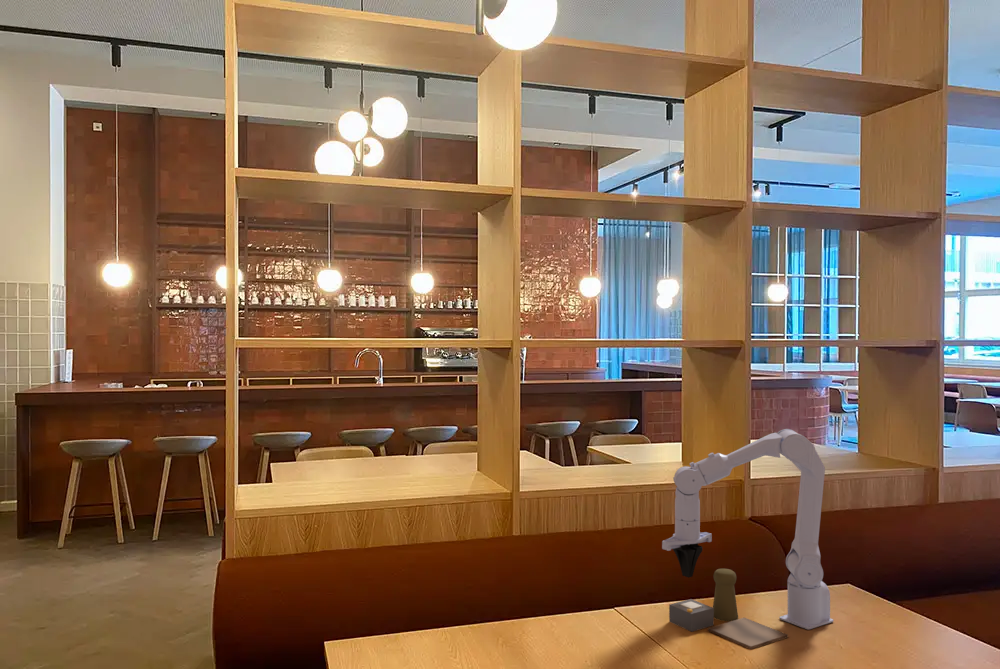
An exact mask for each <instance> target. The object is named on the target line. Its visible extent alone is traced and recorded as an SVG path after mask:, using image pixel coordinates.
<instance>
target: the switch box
mask: <svg viewBox="0 0 1000 669" xmlns="http://www.w3.org/2000/svg"><path fill="white" fill-rule="evenodd" d="M687 602H694V603H696V604H699V605H701V606H702V608H699V609H695V610H692V609H687V608H684V607H682V606H681V604H683V603H687ZM668 606H669V608H668V609H669V610H668V611H669V612H668V615H669V616H668V617H669V623H671V624H673V625H675V626H677V627H680V628H682V629H684V630H687V631H689V632H696V631H698V630H702V629H703V630H704V629H706V628H710V627H713V626H715V625H714V623H715V622H714V620H715V618H714V608H713V606H710V605H708V604H705V603H704V602H703V603H702V602H699V601H697V600H695V599H692V598H690V599H685V600H682V601H678V602H675V603H674V602H673V603H670V604H669V605H668Z"/></svg>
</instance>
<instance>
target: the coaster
mask: <svg viewBox="0 0 1000 669" xmlns="http://www.w3.org/2000/svg"><path fill="white" fill-rule="evenodd" d="M707 631H708V632H709V633H712V634H715V635H717V636H719V637H720V638H721V637H722V638H723V639H726V640H728V641H731V642H733V643H735V644H738V645H740V646H743V647H744V648H746V649H749V650H753V649H757V648H760V647H762V646H766V645H769V644H772V643H775V642H778V641H781V640H785V639H787V638H788V637H789V635H788V633H785V632H782V631H780V630H778V629H774V628H772V627H770V626H768V625H764V624H762V623H760V622H757V621H754V620H752V619H749V618H747V617H741V618H738V619H737V620H734V621H726V622H723V623H721V624H717V625H713V626H710V627H707Z"/></svg>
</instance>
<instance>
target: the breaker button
mask: <svg viewBox="0 0 1000 669" xmlns="http://www.w3.org/2000/svg"><path fill="white" fill-rule="evenodd" d="M681 606H682V607H684V608H687V609H692V610H695V609H699V608H702V606H701V605H699V604H696V603H694V602H687V603H683V604H681Z"/></svg>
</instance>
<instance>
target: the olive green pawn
mask: <svg viewBox="0 0 1000 669" xmlns="http://www.w3.org/2000/svg"><path fill="white" fill-rule="evenodd" d="M713 581H714V582H715V586H714V588H715V589H714V594H713V595H714V596H713V603H712V607H713V608H714V620H718V621H722V622H723V621H724V622H730V621H734V620H737V619H739V613H738V606H737V599H736V598H737V597H736V590H735V584H736V582H737V574H736V572H735V571H733V569H729V568H718V569H716V570H714V573H713Z"/></svg>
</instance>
